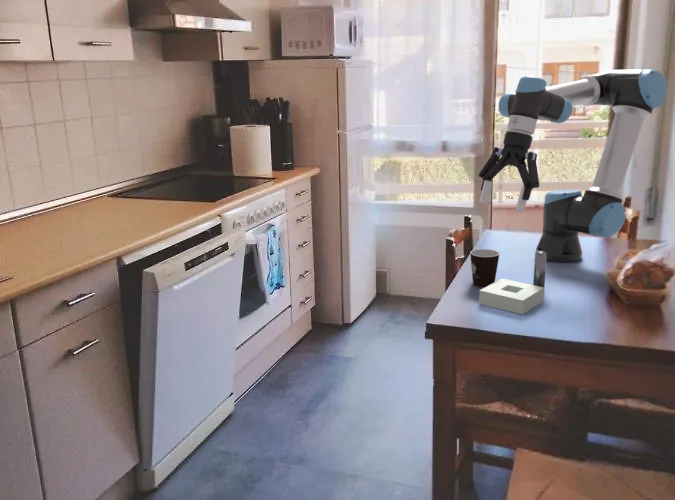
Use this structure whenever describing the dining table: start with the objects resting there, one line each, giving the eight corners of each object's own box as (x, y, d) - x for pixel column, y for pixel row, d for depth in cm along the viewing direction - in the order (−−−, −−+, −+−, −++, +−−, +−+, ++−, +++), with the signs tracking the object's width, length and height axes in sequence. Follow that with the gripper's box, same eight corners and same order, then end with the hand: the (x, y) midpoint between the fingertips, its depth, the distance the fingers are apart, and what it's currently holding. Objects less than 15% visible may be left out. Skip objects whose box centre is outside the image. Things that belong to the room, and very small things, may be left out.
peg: (535, 288, 188) (538, 250, 184) (546, 291, 186) (548, 252, 182) (530, 291, 186) (533, 252, 182) (541, 293, 183) (543, 254, 180)
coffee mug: (498, 289, 188) (500, 257, 185) (469, 288, 190) (470, 256, 187) (497, 277, 199) (498, 246, 196) (469, 276, 201) (470, 245, 198)
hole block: (501, 291, 187) (502, 278, 185) (543, 300, 178) (544, 287, 177) (479, 303, 177) (479, 290, 176) (522, 314, 169) (522, 300, 168)
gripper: (478, 127, 185) (460, 197, 187) (548, 134, 165) (527, 213, 168) (494, 132, 189) (477, 201, 192) (565, 139, 169) (544, 216, 172)
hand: (500, 207), depth 180 cm, fingers open, 13 cm apart
